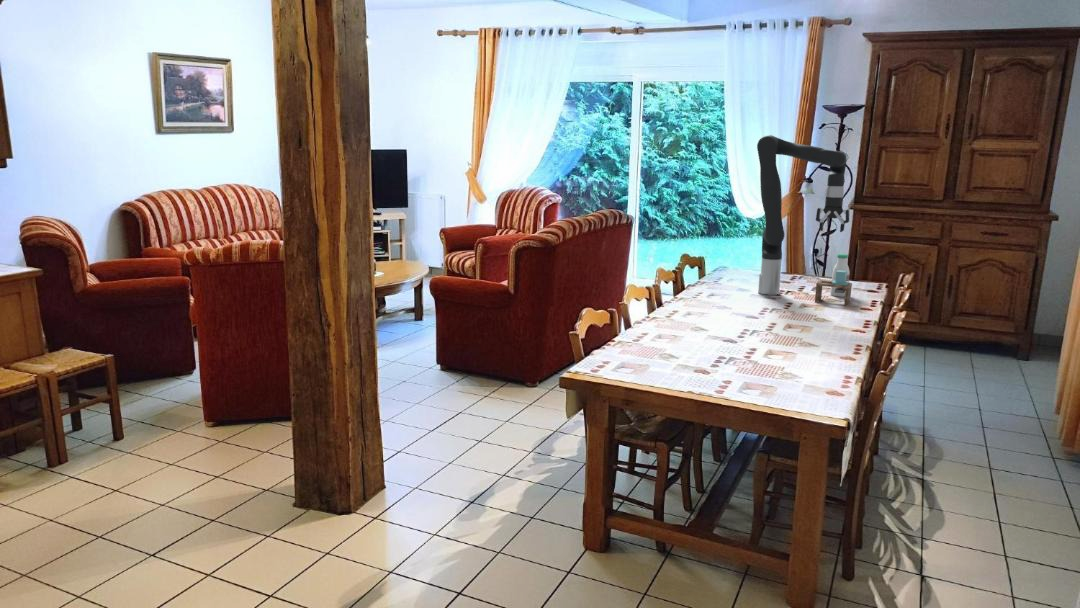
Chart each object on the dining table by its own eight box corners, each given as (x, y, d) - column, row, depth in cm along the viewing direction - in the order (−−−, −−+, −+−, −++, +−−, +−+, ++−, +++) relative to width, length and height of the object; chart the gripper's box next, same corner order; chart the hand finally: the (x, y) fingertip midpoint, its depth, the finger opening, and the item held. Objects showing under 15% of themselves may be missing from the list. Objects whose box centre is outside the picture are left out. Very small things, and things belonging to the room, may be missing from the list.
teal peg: (830, 292, 351) (832, 271, 349) (833, 290, 357) (835, 269, 355) (846, 294, 348) (848, 273, 346) (848, 291, 354) (850, 270, 352)
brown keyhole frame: (814, 302, 355) (816, 283, 353) (818, 298, 362) (820, 279, 360) (846, 305, 348) (848, 286, 346) (850, 302, 355) (851, 283, 353)
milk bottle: (829, 296, 368) (833, 254, 364) (831, 293, 375) (835, 252, 370) (846, 297, 365) (850, 256, 360) (848, 294, 371) (852, 253, 367)
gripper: (852, 196, 350) (849, 231, 353) (819, 194, 357) (816, 229, 360) (849, 197, 343) (846, 233, 347) (816, 195, 350) (813, 231, 354)
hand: (831, 231), depth 354 cm, fingers open, 8 cm apart
